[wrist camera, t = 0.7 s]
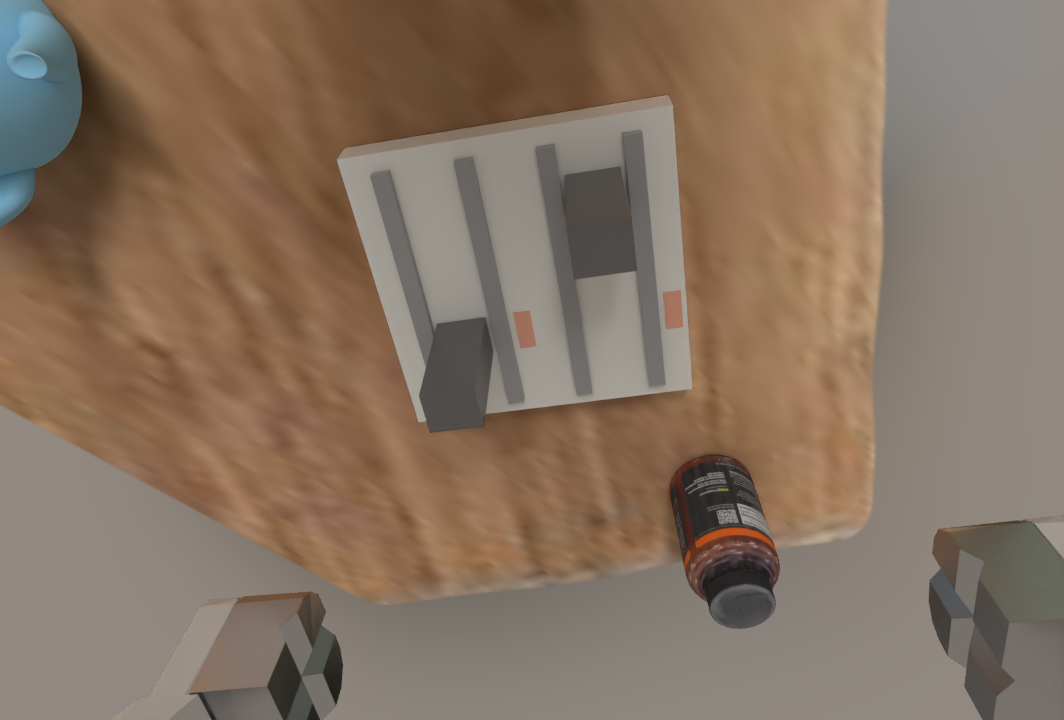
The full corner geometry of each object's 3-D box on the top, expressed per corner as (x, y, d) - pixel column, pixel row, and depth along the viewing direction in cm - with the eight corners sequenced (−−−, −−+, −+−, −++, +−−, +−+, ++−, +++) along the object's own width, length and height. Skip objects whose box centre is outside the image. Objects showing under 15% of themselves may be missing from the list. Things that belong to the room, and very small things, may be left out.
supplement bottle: (695, 523, 58) (722, 652, 49) (652, 475, 56) (672, 602, 46) (766, 488, 56) (809, 616, 47) (725, 437, 54) (761, 561, 44)
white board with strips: (345, 148, 43) (333, 163, 41) (668, 94, 41) (674, 107, 39) (423, 404, 53) (417, 427, 51) (687, 371, 51) (693, 394, 49)
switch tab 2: (564, 174, 42) (566, 231, 35) (620, 166, 41) (631, 221, 35) (571, 218, 43) (574, 279, 37) (625, 209, 43) (637, 270, 36)
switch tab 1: (437, 323, 47) (418, 395, 41) (485, 317, 46) (474, 388, 40) (446, 357, 48) (430, 432, 42) (493, 351, 48) (484, 426, 42)
